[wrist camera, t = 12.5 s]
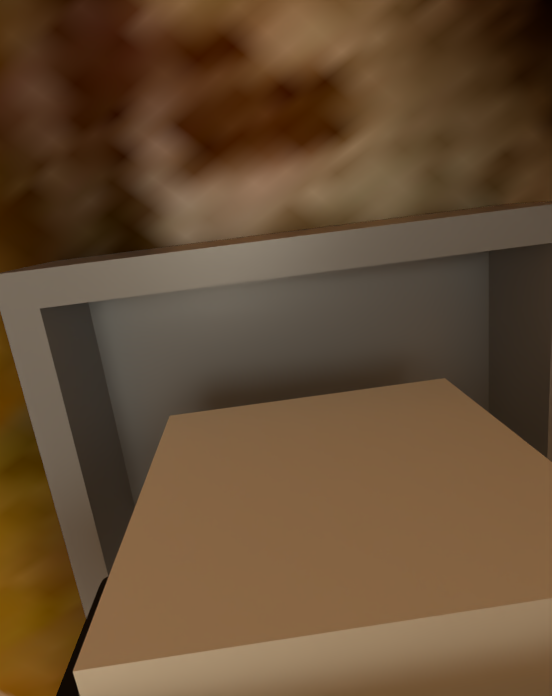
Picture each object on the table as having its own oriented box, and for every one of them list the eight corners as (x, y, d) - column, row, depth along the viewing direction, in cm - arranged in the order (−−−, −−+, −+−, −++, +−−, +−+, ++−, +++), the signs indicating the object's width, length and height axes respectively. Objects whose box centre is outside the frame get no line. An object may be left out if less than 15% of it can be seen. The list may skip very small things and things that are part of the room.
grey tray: (506, 204, 13) (593, 199, 10) (503, 576, 17) (567, 666, 13) (56, 260, 13) (-10, 274, 10) (144, 628, 16) (118, 734, 13)
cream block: (445, 378, 10) (696, 576, 5) (451, 603, 12) (644, 960, 6) (169, 415, 10) (73, 670, 4) (212, 639, 12) (182, 1043, 6)
